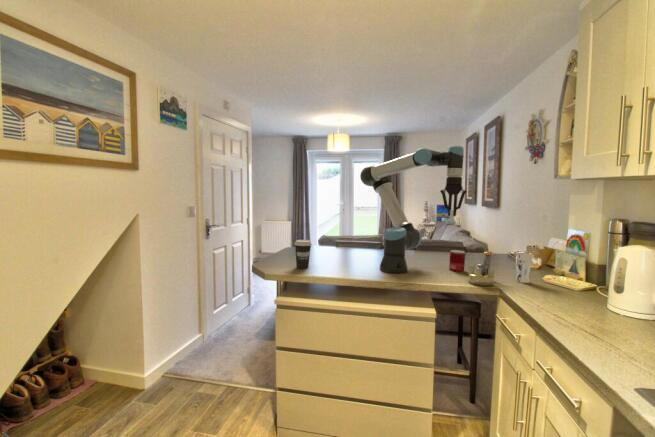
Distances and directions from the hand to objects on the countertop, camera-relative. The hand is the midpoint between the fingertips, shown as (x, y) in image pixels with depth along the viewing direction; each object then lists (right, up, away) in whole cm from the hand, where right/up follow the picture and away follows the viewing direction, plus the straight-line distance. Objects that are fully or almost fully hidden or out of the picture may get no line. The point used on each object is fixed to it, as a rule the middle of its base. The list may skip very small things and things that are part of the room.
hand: (451, 222), depth 170 cm
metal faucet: (+12, -29, -9) cm, 33 cm away
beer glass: (+34, -30, -5) cm, 46 cm away
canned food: (+9, -28, +15) cm, 33 cm away
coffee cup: (-79, -25, +10) cm, 83 cm away
